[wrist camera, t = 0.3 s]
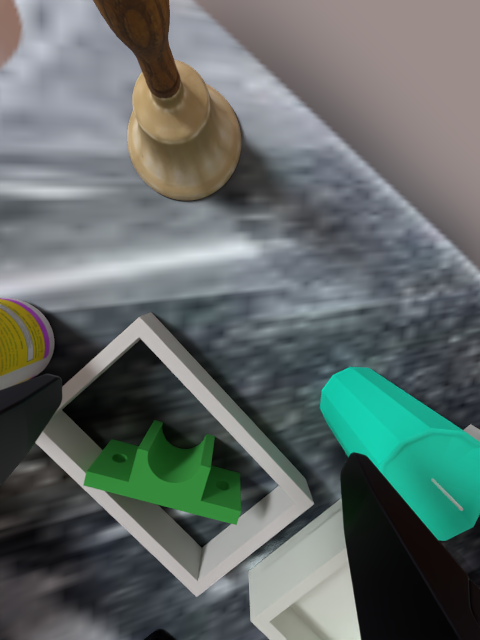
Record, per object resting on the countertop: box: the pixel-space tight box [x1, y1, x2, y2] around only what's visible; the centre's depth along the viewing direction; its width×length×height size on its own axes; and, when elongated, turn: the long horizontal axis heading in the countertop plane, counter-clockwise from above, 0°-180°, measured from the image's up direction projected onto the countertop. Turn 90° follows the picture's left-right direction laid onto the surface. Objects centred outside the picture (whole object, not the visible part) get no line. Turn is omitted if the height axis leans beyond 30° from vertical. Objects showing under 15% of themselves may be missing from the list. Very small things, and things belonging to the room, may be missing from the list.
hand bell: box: [93, 0, 241, 201], centre depth 15 cm, size 8×8×16 cm
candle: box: [320, 367, 480, 541], centre depth 19 cm, size 6×6×12 cm
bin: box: [248, 498, 361, 640], centre depth 25 cm, size 12×12×4 cm
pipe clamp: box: [83, 420, 241, 525], centre depth 24 cm, size 11×4×5 cm, turn 73°
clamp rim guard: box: [35, 312, 314, 597], centre depth 24 cm, size 12×19×3 cm, turn 41°
